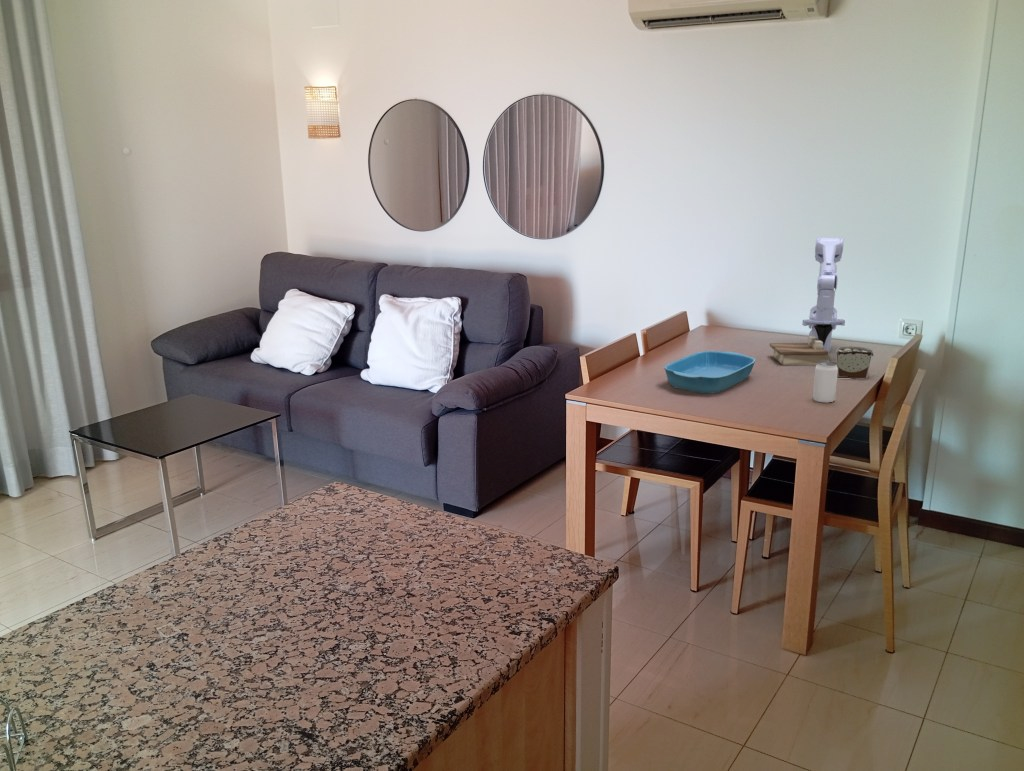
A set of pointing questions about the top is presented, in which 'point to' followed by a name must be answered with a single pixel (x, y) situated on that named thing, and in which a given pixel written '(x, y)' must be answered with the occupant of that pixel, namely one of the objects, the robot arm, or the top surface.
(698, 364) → the casserole dish
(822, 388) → the can
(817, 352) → the lid
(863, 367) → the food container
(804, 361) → the beige open tray
